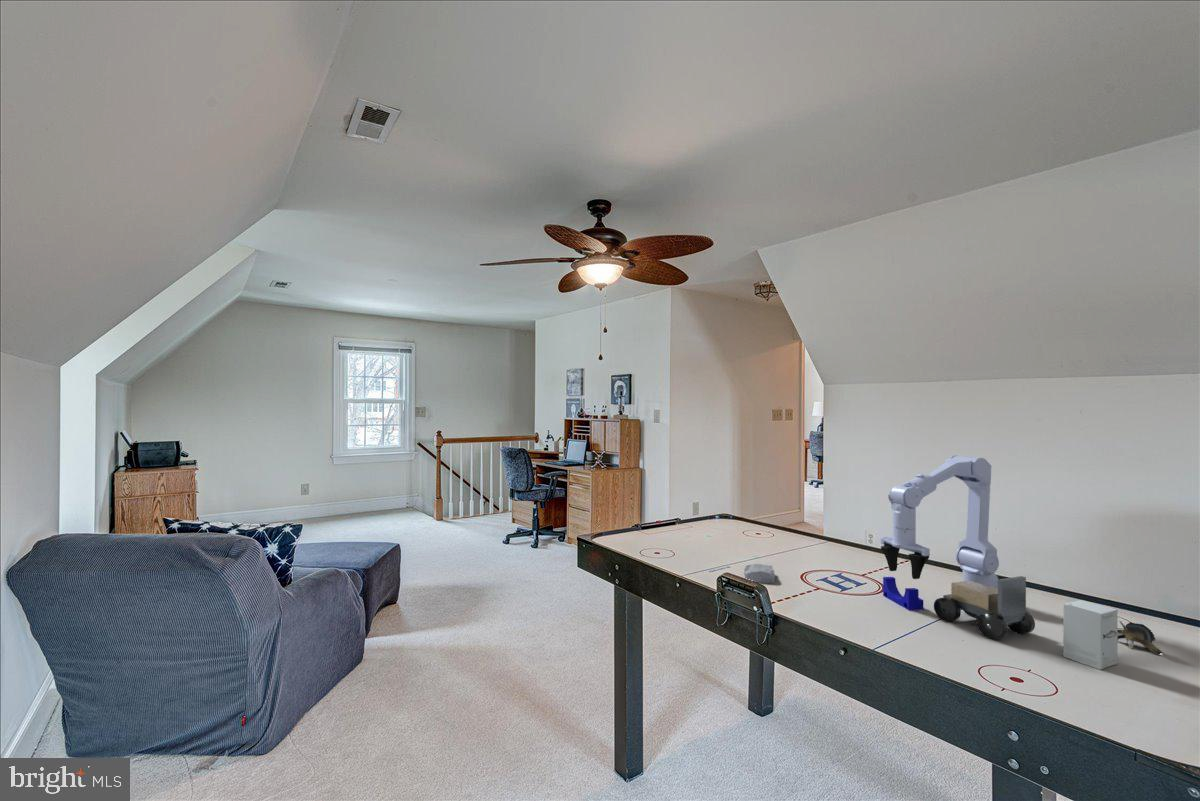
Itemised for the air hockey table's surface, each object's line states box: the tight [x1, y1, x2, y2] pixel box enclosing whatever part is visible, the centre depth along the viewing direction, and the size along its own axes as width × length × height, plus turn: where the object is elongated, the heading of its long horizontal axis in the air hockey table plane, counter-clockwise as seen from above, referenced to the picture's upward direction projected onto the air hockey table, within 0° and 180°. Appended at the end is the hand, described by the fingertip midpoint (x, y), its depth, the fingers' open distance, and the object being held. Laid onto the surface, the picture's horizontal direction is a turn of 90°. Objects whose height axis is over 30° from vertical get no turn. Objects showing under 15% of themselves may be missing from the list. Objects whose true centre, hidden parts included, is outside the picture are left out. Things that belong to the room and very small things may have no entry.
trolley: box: [933, 575, 1036, 640], centre depth 143 cm, size 13×18×15 cm
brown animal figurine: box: [1118, 620, 1163, 655], centre depth 131 cm, size 8×7×9 cm
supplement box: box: [1062, 599, 1119, 671], centre depth 124 cm, size 7×7×13 cm
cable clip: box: [882, 576, 924, 611], centre depth 160 cm, size 12×4×6 cm, turn 5°
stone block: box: [743, 563, 776, 584], centre depth 183 cm, size 12×5×10 cm
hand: (904, 574), depth 155 cm, fingers open, 7 cm apart
